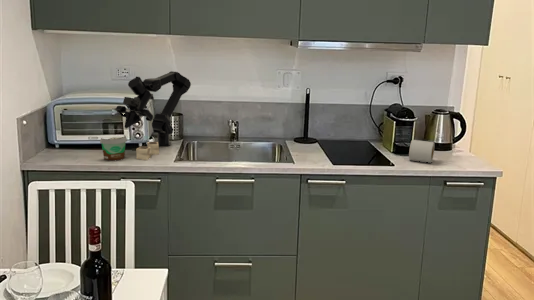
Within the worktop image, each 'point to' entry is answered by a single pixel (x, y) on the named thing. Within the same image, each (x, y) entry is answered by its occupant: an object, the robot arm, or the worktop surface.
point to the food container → (114, 148)
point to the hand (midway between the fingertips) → (125, 127)
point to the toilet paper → (421, 151)
